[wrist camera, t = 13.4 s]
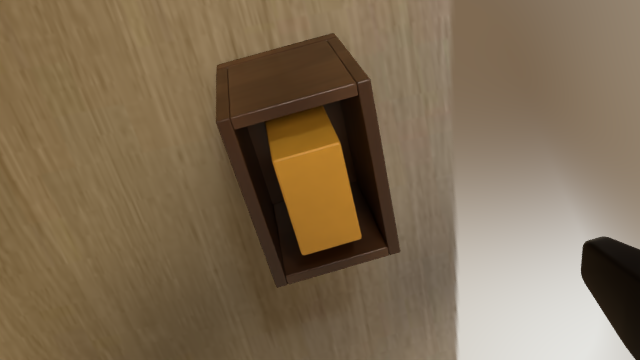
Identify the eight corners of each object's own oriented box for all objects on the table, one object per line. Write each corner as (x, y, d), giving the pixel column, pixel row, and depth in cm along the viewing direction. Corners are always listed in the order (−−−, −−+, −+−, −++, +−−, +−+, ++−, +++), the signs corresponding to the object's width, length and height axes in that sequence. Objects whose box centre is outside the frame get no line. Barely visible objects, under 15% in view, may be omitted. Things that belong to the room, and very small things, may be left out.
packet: (312, 82, 18) (340, 141, 14) (332, 165, 20) (362, 239, 16) (259, 97, 18) (271, 161, 14) (284, 178, 20) (302, 257, 16)
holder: (334, 32, 18) (370, 78, 14) (363, 178, 22) (401, 252, 17) (216, 64, 18) (215, 121, 14) (264, 206, 21) (276, 288, 17)
